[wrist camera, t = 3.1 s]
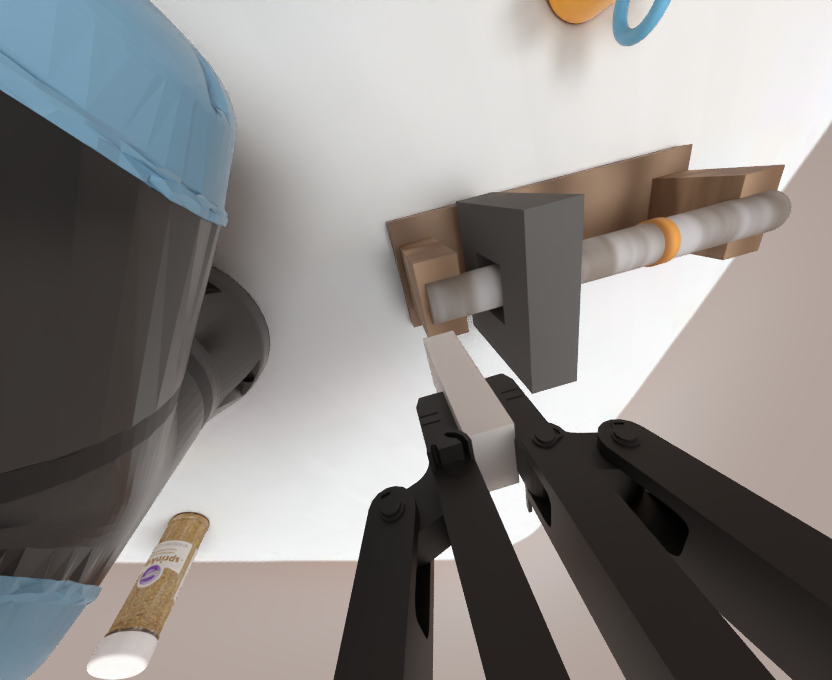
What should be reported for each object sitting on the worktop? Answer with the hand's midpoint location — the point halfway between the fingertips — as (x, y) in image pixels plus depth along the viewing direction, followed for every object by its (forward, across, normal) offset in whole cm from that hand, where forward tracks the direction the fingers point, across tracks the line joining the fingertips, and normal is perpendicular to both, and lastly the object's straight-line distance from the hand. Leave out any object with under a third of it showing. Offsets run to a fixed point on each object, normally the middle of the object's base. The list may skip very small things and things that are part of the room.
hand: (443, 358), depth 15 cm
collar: (+13, +7, 0) cm, 14 cm away
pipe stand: (+16, +14, 0) cm, 21 cm away
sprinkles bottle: (+16, -34, -24) cm, 45 cm away
